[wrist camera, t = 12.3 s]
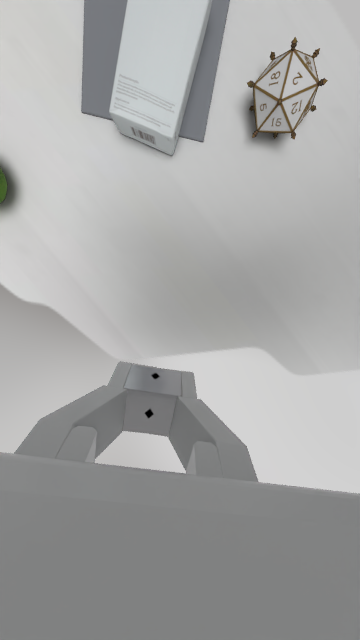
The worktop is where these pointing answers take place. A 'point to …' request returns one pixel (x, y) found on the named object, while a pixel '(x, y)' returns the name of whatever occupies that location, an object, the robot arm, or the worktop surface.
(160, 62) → the skincare box
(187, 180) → the worktop surface
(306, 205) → the worktop surface
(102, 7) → the mat
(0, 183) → the fruit
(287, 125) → the game die
